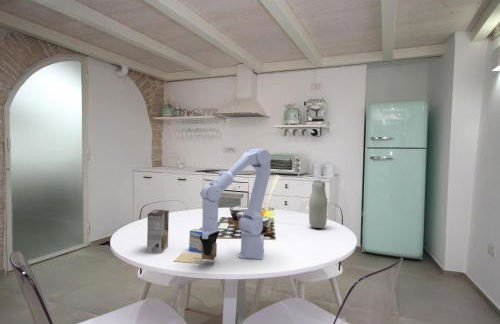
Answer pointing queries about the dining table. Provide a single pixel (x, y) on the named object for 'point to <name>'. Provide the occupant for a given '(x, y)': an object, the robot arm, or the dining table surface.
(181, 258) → the kraft envelope
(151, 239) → the coffee box
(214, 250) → the walnut cube
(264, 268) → the dining table surface
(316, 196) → the grey bottle
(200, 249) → the medicine box
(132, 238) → the dining table surface
